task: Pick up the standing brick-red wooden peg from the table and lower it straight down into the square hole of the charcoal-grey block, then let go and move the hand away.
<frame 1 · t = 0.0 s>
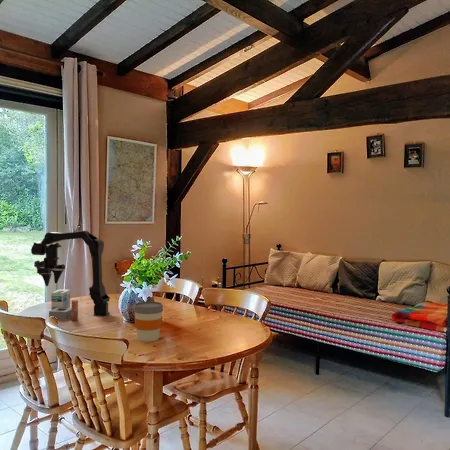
hand: (51, 284, 234), 15 cm above the table, tool pointing down, fingers open, 9 cm apart
light bulb box: (60, 310, 238), on the table
hole block: (61, 317, 223), on the table
peg: (74, 320, 218), on the table
reusable coffee cup: (148, 338, 190), on the table
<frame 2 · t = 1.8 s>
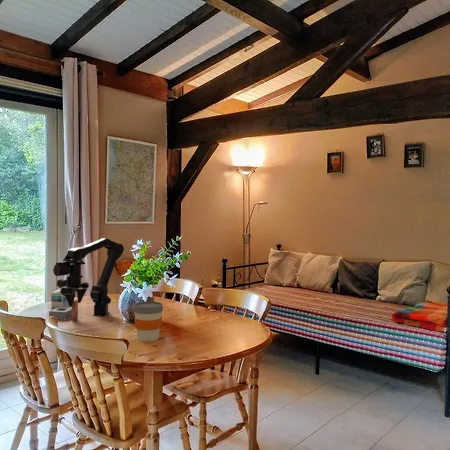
hand: (75, 304, 218), 8 cm above the table, tool pointing down, fingers open, 9 cm apart
nothing on the table moved.
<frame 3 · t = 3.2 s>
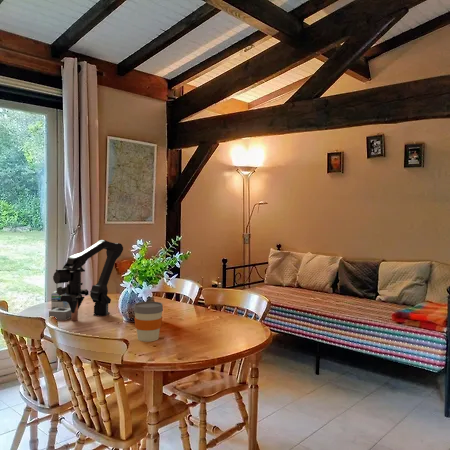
hand: (74, 312, 218), 4 cm above the table, tool pointing down, fingers closed on peg, 3 cm apart
peg: (74, 320, 218), on the table, touching gripper
everything else where it was.
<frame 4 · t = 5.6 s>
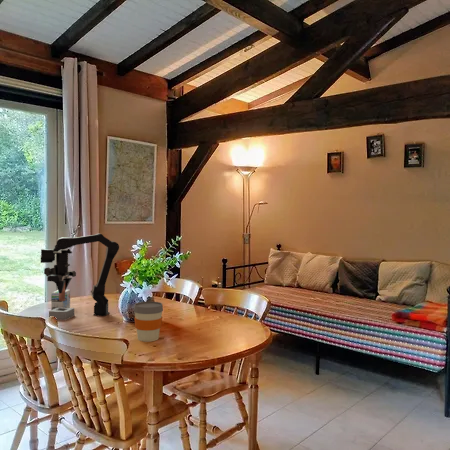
hand: (62, 292, 223), 13 cm above the table, tool pointing down, fingers closed on peg, 3 cm apart
peg: (61, 300, 223), point 9 cm above the table, touching gripper
everything else where it was.
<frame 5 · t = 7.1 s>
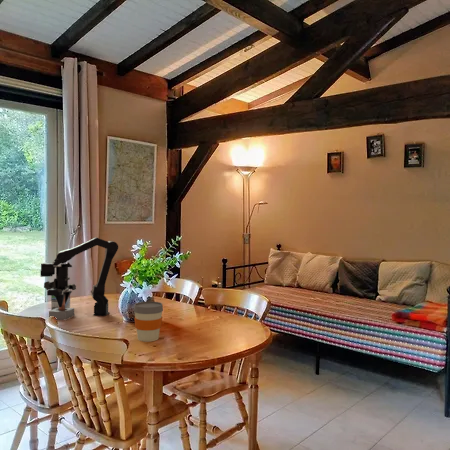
hand: (61, 306, 223), 6 cm above the table, tool pointing down, fingers closed on peg, 3 cm apart
peg: (61, 314, 223), point 2 cm above the table, touching gripper
everything else where it was.
when the fingers open (5 cm above the table, at t = 8.1 s): peg drops 1 cm, resting in hole block.
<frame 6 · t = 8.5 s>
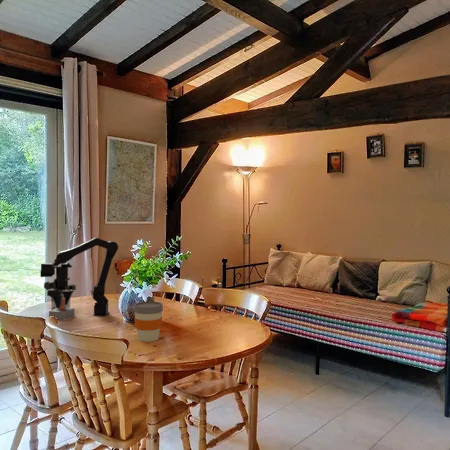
hand: (61, 306, 223), 5 cm above the table, tool pointing down, fingers open, 8 cm apart
peg: (61, 317, 223), resting in hole block
everything else where it was.
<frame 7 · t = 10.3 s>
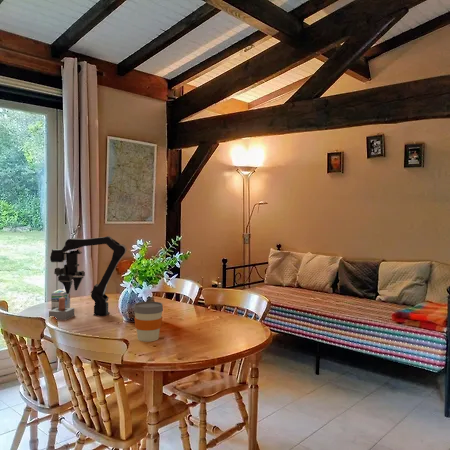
hand: (71, 291, 229), 12 cm above the table, tool pointing down, fingers open, 9 cm apart
nothing on the table moved.
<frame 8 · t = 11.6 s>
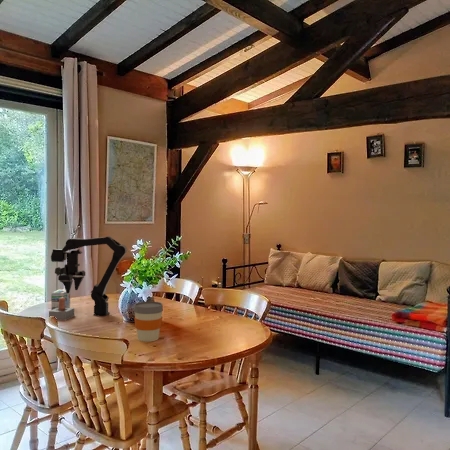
hand: (72, 291, 229), 12 cm above the table, tool pointing down, fingers open, 9 cm apart
nothing on the table moved.
at the end: peg 0.0 cm off-centre on the hole block, point 0.0 cm above the hole block's base; peg tilted 0°; the gripper is holding nothing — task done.
